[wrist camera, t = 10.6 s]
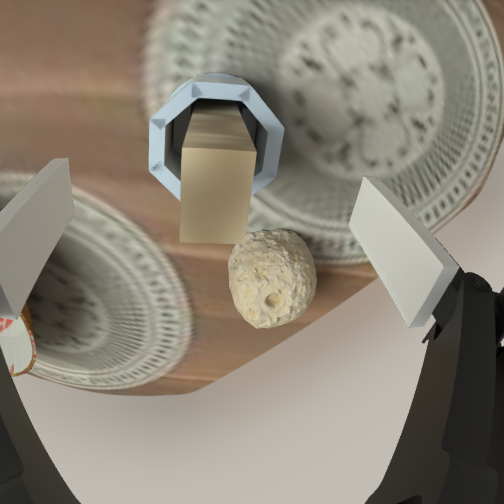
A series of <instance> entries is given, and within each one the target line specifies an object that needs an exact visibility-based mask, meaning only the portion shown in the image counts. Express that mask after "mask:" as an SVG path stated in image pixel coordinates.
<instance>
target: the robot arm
mask: <svg viewBox="0 0 504 504" xmlns="http://www.w3.org/2000/svg"><path fill="white" fill-rule="evenodd" d="M74 215H75V209H74V203H73V196H72V188H71V180H70V172H69V162H68V158H60V159H53V160H51V161H50V162H49V163H48V164H47V165H46V166H45V167H44V168H43V169H42V170H41V171H40V172H39V173H38V174H36V175H35V176H34V177H33V178H32V179H31V180H30V181H29V182H28V183H27V184H26V185H25V186H24V187H23V188H22V189H21V190H20V191H19V192H18V193H17V195H16V196H15V197H14V198H13V199H12V200H11V201H10V202H9V203H8V204H7V205H6V206H5V207H4V208H3V210H2V211H1V212H0V318H4V319H11V320H18V317H19V315H20V313H21V311H22V309H23V307H24V304H25V302H26V300H27V298H28V296H29V294H30V292H31V290H32V288H33V286H34V284H35V282H36V280H37V278H38V277H39V275H40V273H41V271H42V269H43V267H44V265H45V264H46V262H47V260H48V258H49V256H50V255H51V253H52V251H53V249H54V248H55V246H56V244H57V242H58V241H59V239H60V237H61V236H62V234H63V232H64V231H65V229H66V227H67V226H68V224H69V223H70V221H71V219H72V218H73V216H74ZM348 227H349V228H350V230H351V231H352V233H353V235H354V236H355V238H356V239H357V241H358V242H359V244H360V246H361V247H362V249H363V250H364V252H365V254H366V255H367V257H368V258H369V260H370V262H371V263H372V265H373V267H374V268H375V270H376V272H377V273H378V275H379V277H380V278H381V280H382V282H383V283H384V285H385V287H386V289H387V290H388V292H389V294H390V295H391V297H392V299H393V301H394V303H395V304H396V306H397V308H398V310H399V311H400V313H401V315H402V317H403V319H404V321H405V322H406V324H407V326H408V327H409V328H411V327H420V326H424V325H425V324H426V322H427V321H428V319H429V318H430V316H431V314H432V315H433V316H434V318H435V319H436V322H435V323H434V325H433V326H432V328H431V329H430V331H429V332H428V333H427V335H426V336H425V338H424V339H423V341H422V343H425V342H426V340H429V341H428V346H427V350H426V354H425V359H424V363H423V366H422V370H421V374H420V377H419V381H418V384H417V388H416V391H415V395H414V398H413V401H412V404H411V407H410V410H409V414H408V416H407V419H406V422H405V425H404V428H403V431H402V434H401V436H400V439H399V442H398V444H397V447H396V449H395V452H394V454H393V457H392V459H391V462H390V464H389V466H388V469H387V471H386V473H385V476H384V478H383V480H382V482H381V484H380V485H379V487H378V488H377V490H376V491H375V492H374V493H373V494H372V495H371V496H370V497H369V498H368V500H367V501H366V502H365V504H504V346H503V347H502V346H501V341H502V339H503V338H504V288H503V289H502V290H501V292H500V293H497V292H493V291H492V288H491V286H490V285H489V283H488V282H487V281H486V280H485V279H484V278H482V277H481V276H479V275H477V274H475V273H472V272H467V273H464V271H463V270H462V268H461V267H460V266H459V265H458V264H457V262H456V261H455V260H454V259H453V257H452V256H451V255H450V254H448V252H447V250H446V249H445V248H443V246H442V245H441V243H440V242H439V241H438V240H437V239H436V238H435V237H434V236H433V235H432V234H431V233H430V232H429V231H428V230H427V228H426V227H425V226H424V225H423V224H422V223H421V222H420V221H419V220H418V219H417V218H416V216H415V215H414V214H413V213H412V212H411V211H410V210H409V209H408V208H407V207H406V206H405V205H404V204H403V203H402V202H401V201H400V200H399V199H398V198H397V197H396V196H395V195H394V194H393V193H392V192H391V191H390V190H389V189H388V188H387V187H386V186H385V185H384V184H383V183H382V182H381V181H380V180H379V179H378V178H375V177H369V176H364V177H363V180H362V183H361V187H360V190H359V193H358V197H357V200H356V203H355V206H354V210H353V213H352V216H351V219H350V222H349V225H348ZM0 504H81V503H80V502H79V501H78V500H77V499H76V498H75V496H74V495H73V493H72V492H71V491H70V489H69V487H68V486H67V484H66V483H65V481H64V480H63V478H62V477H61V475H60V473H59V472H58V470H57V468H56V467H55V465H54V463H53V462H52V460H51V459H50V457H49V455H48V453H47V451H46V450H45V448H44V446H43V444H42V442H41V440H40V439H39V437H38V435H37V433H36V431H35V429H34V427H33V425H32V423H31V421H30V419H29V417H28V414H27V412H26V410H25V408H24V406H23V403H22V401H21V399H20V396H19V394H18V392H17V389H16V387H15V384H14V382H13V379H12V377H11V374H10V372H9V369H8V366H7V363H6V361H5V358H4V355H3V352H2V349H1V346H0Z"/></svg>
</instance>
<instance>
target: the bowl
mask: <svg viewBox="0 0 504 504" xmlns="http://www.w3.org/2000/svg"><path fill="white" fill-rule="evenodd" d="M0 346H1V349H2V352H3V355H4V358H5V361H6V363H7V366H8V369H9V372H10V374H11V376H19V375H22V374H25V373H27V372H28V371H29V370H30V369H32V367H33V365H34V363H35V361H36V343H35V336H34V330H33V324H32V318H31V315H30V311H29V308H28V305H27V302H25V304H24V307H23V309H22V311H21V313H20V315H19V317H18V320H11V319H4V318H0Z"/></svg>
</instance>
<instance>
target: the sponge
mask: <svg viewBox="0 0 504 504" xmlns="http://www.w3.org/2000/svg"><path fill="white" fill-rule="evenodd" d="M228 268H229V287H230V290H231V293H232V296H233V300H234V303H235V306H236V308H237V310H238V311H239V312H240V313H241V314H242V316H243V318H244V319H245V320H246V321H247V322H249V323H250V324H252V325H253V326H255V327H256V329H258V328H262V327H264V328H270V327H277V326H279V325H282V324H285V323H289V322H291V321H292V320H294V319H297V318H298V317H299V316H300V315H302V314H303V313H304V312H305V311H306V309H307V307H309V305H310V303H311V302H312V300H313V298H314V296H315V292H316V285H317V277H316V269H315V265H314V261H313V257H312V254H311V252H310V250H309V249H308V247H307V246H306V243H305V242H304V241H303V239H302V238H301V237H299V236H297V234H296V233H295V232H293V231H287V230H283V229H278V230H275V231H265V230H261V231H259V232H254V233H250V234H247V235H246V236H245V243H244V244H236V245H235V247H234V249H233V250H232V253H231V255H230V258H229V262H228Z"/></svg>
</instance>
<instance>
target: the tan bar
mask: <svg viewBox="0 0 504 504" xmlns="http://www.w3.org/2000/svg"><path fill="white" fill-rule="evenodd" d="M256 155H257V151H256V149H255V146H254V144H253V142H252V139H251V137H250V135H249V132H248V130H247V128H246V126H245V123H244V121H243V119H242V116H241V114H240V112H239V110H238V107H237V105H236V103H235V101H230V100H215V99H197V101H196V104H195V107H194V110H193V114H192V117H191V120H190V123H189V126H188V129H187V133H186V136H185V139H184V143H183V146H182V159H181V189H180V242H192V243H219V244H244V243H245V236H246V228H247V221H248V213H249V206H250V199H251V191H252V184H253V177H254V169H255V162H256Z"/></svg>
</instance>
